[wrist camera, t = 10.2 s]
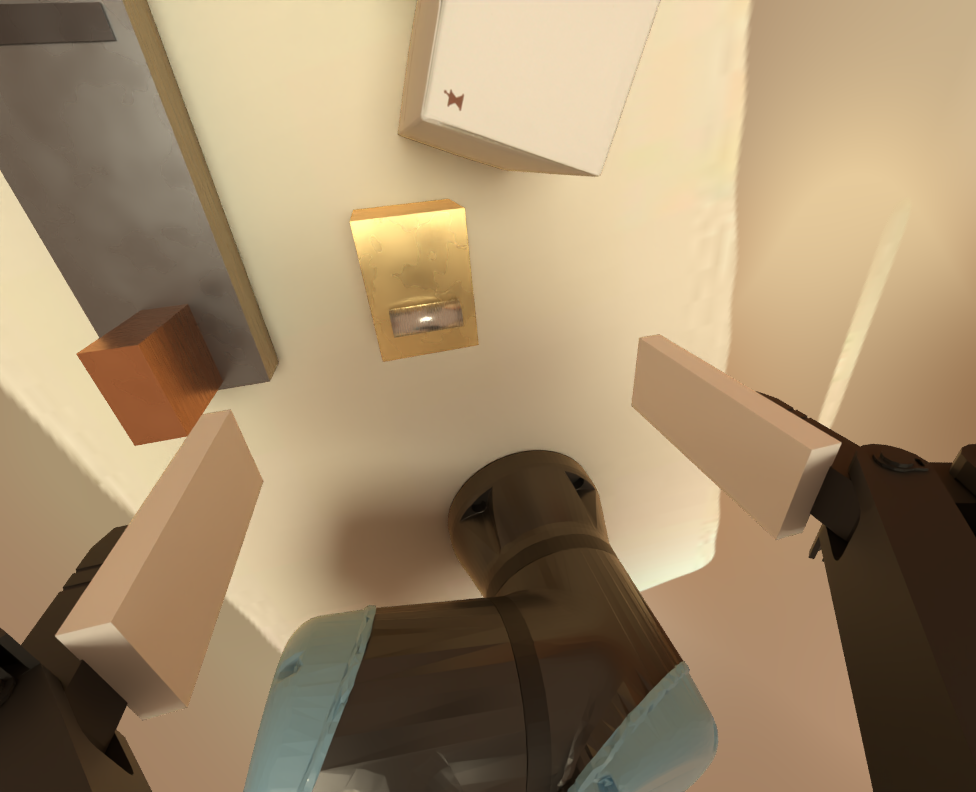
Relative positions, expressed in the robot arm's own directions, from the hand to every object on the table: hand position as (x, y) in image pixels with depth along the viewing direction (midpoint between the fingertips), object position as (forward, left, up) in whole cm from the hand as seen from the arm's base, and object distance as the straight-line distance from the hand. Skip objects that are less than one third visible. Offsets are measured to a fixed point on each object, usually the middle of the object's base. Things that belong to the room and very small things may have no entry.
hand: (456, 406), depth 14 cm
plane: (+7, +14, -18) cm, 24 cm away
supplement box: (+10, -5, -18) cm, 21 cm away
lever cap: (0, 0, -18) cm, 18 cm away
